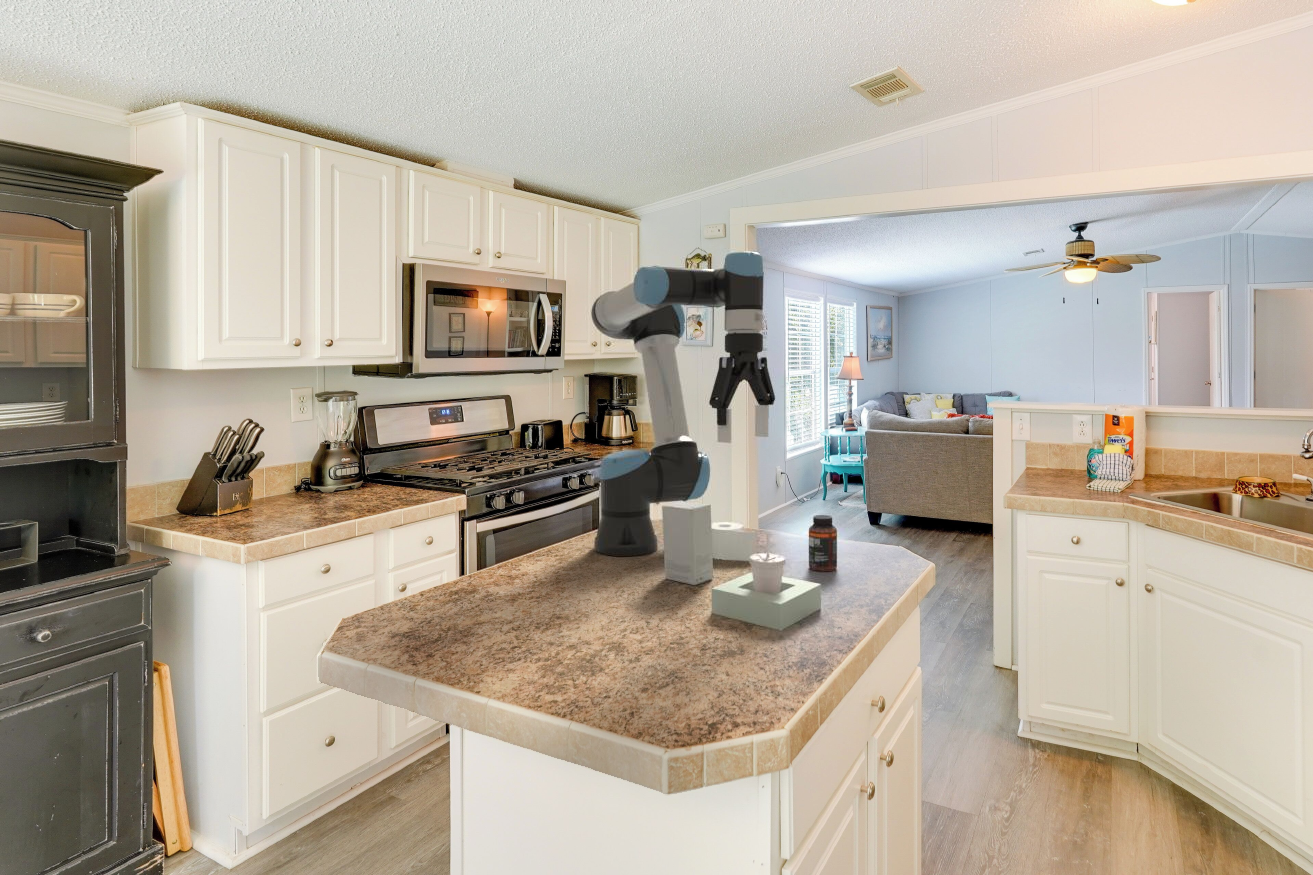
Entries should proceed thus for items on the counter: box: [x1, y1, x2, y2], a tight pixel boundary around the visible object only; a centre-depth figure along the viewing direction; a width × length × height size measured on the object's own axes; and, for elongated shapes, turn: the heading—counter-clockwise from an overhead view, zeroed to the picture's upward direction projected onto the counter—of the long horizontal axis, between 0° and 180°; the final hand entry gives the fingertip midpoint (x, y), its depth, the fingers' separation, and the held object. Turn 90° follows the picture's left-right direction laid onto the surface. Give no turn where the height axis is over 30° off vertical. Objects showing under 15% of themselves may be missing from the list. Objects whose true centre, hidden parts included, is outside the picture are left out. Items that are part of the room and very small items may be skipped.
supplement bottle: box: [808, 514, 838, 572], centre depth 159 cm, size 6×6×11 cm
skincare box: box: [661, 501, 714, 586], centre depth 152 cm, size 8×7×16 cm
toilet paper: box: [711, 521, 757, 562], centre depth 171 cm, size 8×11×7 cm
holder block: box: [711, 571, 822, 632], centre depth 132 cm, size 14×14×4 cm
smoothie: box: [748, 532, 787, 595], centre depth 132 cm, size 6×6×14 cm
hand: (743, 439), depth 149 cm, fingers open, 13 cm apart
